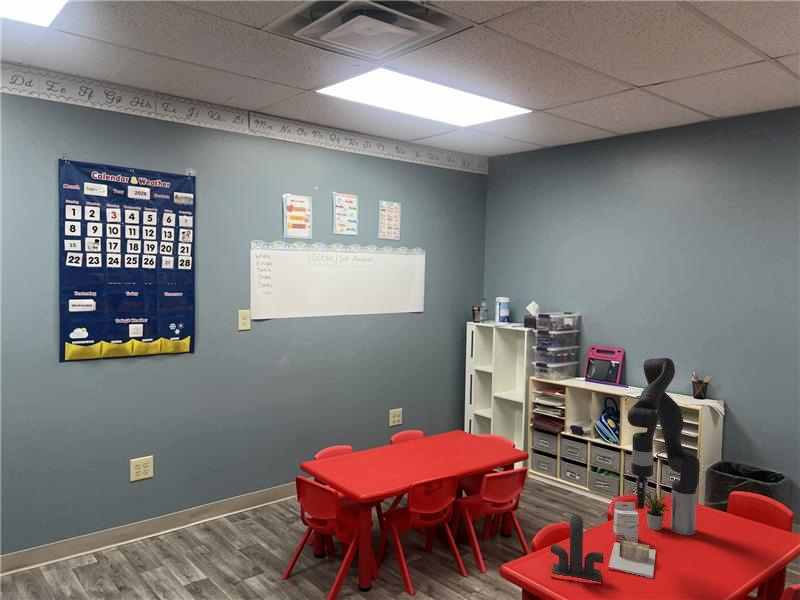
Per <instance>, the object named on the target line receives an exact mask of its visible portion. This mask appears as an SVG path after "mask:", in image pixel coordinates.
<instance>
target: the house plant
mask: <svg viewBox="0 0 800 600" xmlns="http://www.w3.org/2000/svg"><path fill="white" fill-rule="evenodd" d="M669 493H670V492H667V493H665V494H663V493H662V494H660V498H659V495H658V488H657V490H656V491H655V493H654V499H653V498H652V496H651V493H650V492H649V491H648V490H646V498H645V501H646V502H647V503H646V502H645V501H644V507H647V508H648V510H645V514H646V520H647V522H646V523H647V527H648V528H649V529H650V530H653V531H660V530H662V529H663V528H662V527H663V523H664V517H665V512H667V514H669V513H670V512H669V509H667V507H668V508H669V506H668V504H665V503H663V502H664V501H666V499H665V498H666V497H667V495H669ZM661 496H662V497H661ZM658 498H659V499H658ZM669 499H671V498H667V500H669Z"/></svg>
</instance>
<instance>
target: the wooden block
mask: <svg viewBox="0 0 800 600" xmlns="http://www.w3.org/2000/svg"><path fill="white" fill-rule="evenodd" d="M619 543H620V556H619V557H624V558H629V559H634V560H639V561H644V562H648V560H649V549H650V545H649V544H644V543H638V542H629V541H623V540H621V541H619Z"/></svg>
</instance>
